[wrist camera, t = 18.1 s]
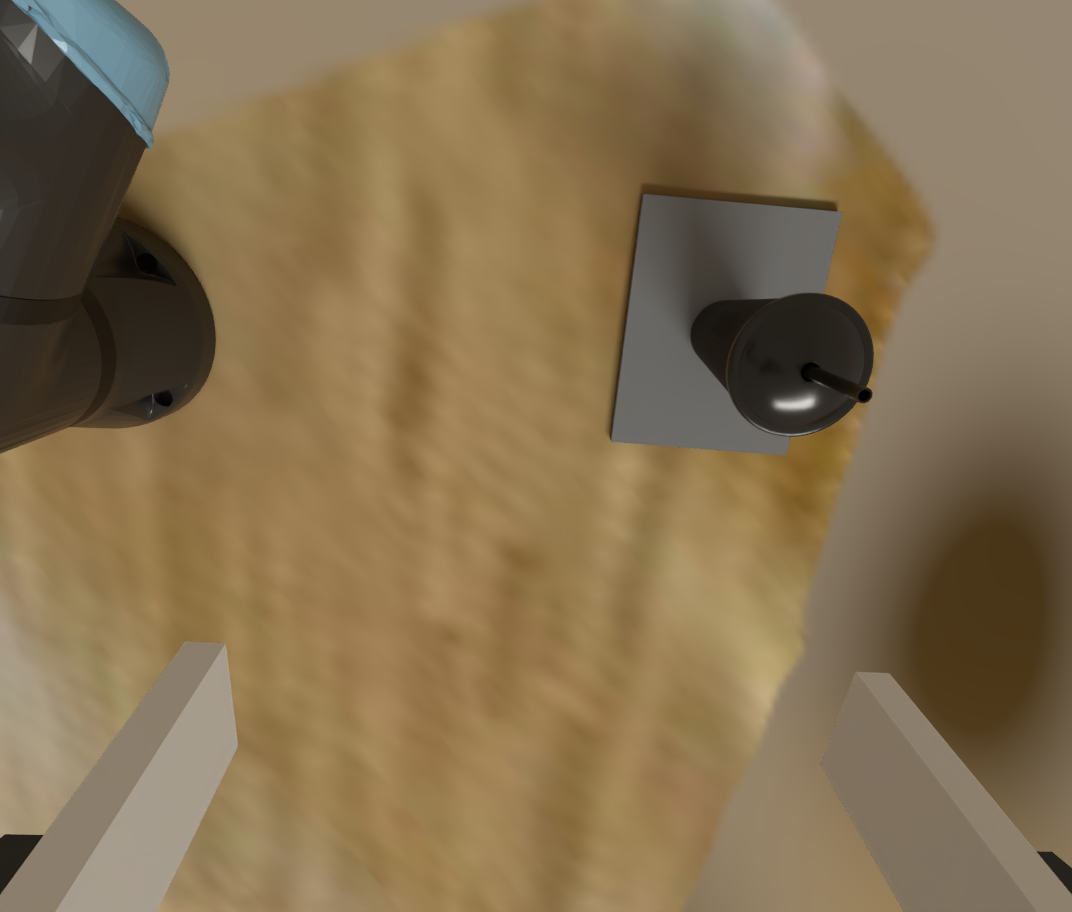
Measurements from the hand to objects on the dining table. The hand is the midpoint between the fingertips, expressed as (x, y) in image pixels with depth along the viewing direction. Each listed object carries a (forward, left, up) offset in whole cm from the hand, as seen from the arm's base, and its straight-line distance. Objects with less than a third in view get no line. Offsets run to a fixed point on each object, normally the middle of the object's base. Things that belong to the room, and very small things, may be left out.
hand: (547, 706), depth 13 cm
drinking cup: (+13, +4, -35) cm, 38 cm away
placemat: (+13, +4, -35) cm, 38 cm away
